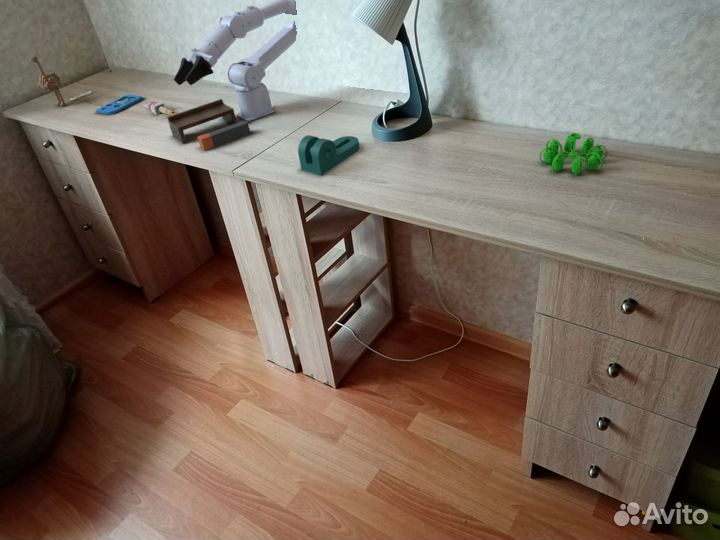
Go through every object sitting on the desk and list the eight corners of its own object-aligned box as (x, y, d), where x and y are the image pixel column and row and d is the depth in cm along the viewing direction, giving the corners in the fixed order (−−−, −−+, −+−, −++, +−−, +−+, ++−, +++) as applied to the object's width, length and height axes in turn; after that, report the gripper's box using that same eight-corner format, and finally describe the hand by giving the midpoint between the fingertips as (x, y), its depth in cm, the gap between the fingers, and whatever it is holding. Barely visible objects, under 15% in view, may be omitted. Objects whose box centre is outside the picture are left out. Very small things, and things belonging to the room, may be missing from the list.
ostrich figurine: (57, 110, 200) (34, 59, 189) (47, 107, 203) (24, 57, 192) (97, 93, 210) (78, 44, 199) (88, 91, 213) (68, 43, 202)
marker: (246, 131, 167) (243, 119, 164) (250, 133, 165) (248, 122, 163) (200, 148, 160) (197, 136, 158) (204, 150, 158) (201, 139, 156)
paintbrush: (148, 96, 191) (181, 109, 180) (151, 104, 193) (183, 117, 182) (138, 100, 189) (171, 114, 178) (141, 108, 191) (173, 122, 180)
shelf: (226, 117, 177) (221, 98, 173) (237, 124, 172) (232, 104, 168) (173, 136, 169) (166, 116, 166) (183, 143, 164) (176, 124, 160)
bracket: (321, 175, 139) (316, 146, 134) (301, 170, 143) (296, 141, 138) (364, 146, 150) (361, 118, 145) (345, 142, 153) (341, 114, 148)
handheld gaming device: (94, 109, 192) (126, 93, 202) (95, 112, 193) (127, 96, 203) (111, 111, 189) (142, 95, 199) (112, 114, 190) (143, 98, 200)
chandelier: (525, 164, 133) (527, 137, 129) (565, 143, 139) (568, 116, 135) (579, 185, 123) (584, 156, 119) (619, 161, 129) (625, 133, 125)
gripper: (192, 38, 160) (161, 71, 157) (215, 35, 150) (183, 70, 147) (208, 58, 165) (179, 90, 162) (232, 56, 155) (201, 91, 151)
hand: (182, 82), depth 154 cm, fingers open, 7 cm apart
